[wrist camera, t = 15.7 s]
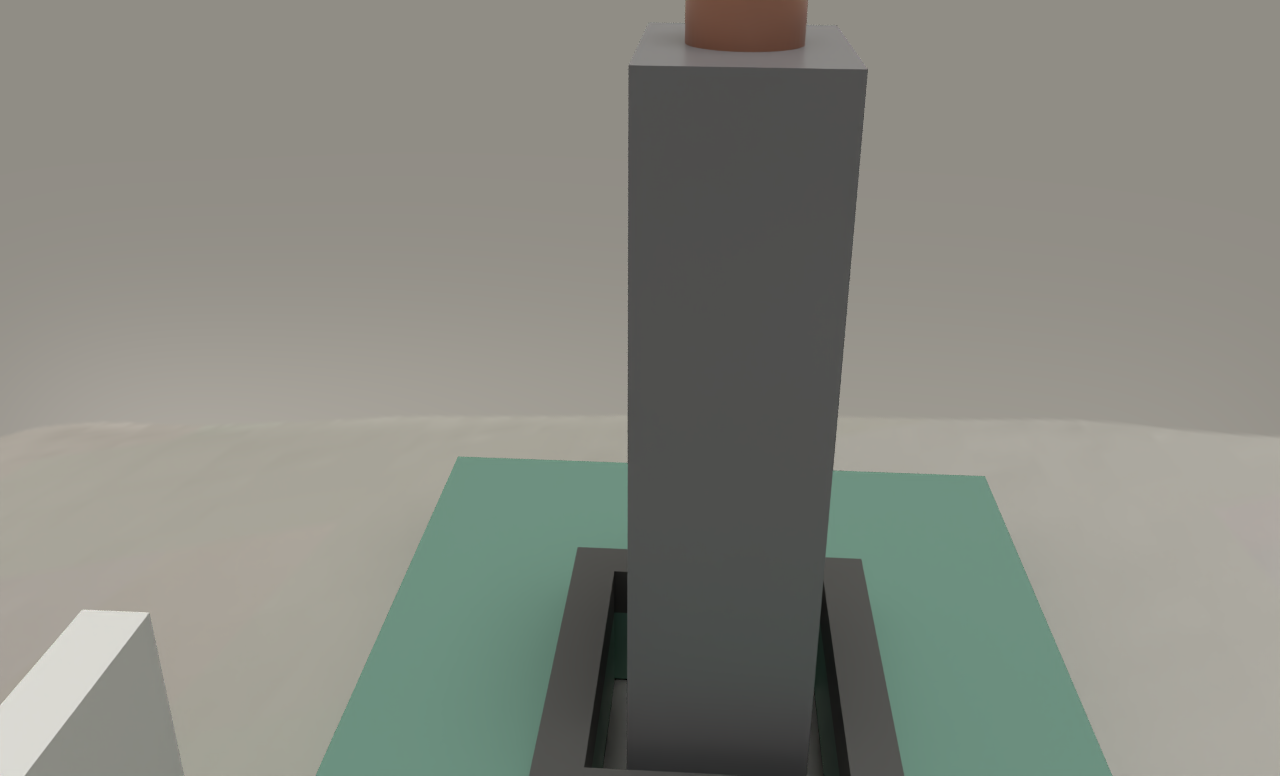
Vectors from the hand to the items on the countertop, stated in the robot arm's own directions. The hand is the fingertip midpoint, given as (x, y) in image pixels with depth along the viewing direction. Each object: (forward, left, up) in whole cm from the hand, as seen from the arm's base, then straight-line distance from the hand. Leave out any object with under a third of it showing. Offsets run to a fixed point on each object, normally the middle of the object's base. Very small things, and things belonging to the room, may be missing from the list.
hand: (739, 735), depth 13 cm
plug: (-5, -9, -10) cm, 14 cm away
